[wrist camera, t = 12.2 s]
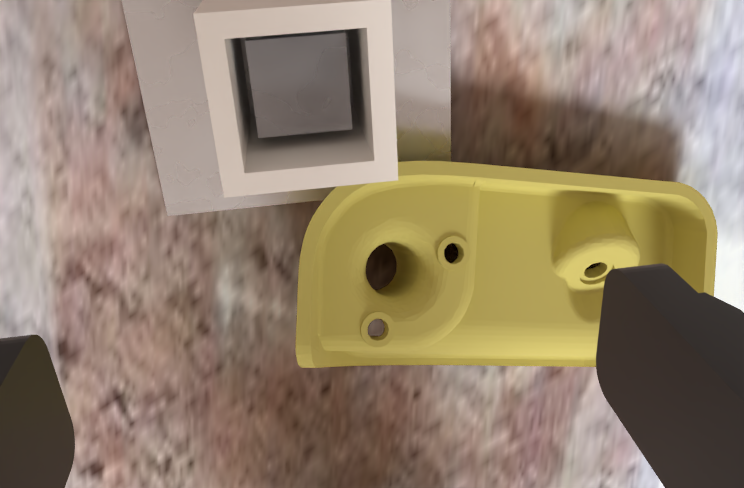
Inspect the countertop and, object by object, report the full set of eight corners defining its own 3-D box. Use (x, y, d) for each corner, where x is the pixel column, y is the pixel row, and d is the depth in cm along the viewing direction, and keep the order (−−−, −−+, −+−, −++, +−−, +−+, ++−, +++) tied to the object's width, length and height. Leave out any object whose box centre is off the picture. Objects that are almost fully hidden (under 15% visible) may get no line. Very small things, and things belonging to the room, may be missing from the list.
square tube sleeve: (364, -25, 27) (390, -2, 21) (372, 121, 30) (398, 180, 24) (211, -14, 27) (193, 13, 20) (234, 134, 29) (223, 197, 23)
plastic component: (720, 186, 32) (707, 396, 32) (625, 193, 39) (614, 366, 39) (305, 147, 27) (291, 396, 27) (282, 164, 34) (270, 362, 34)
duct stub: (443, -130, 27) (486, -137, 21) (446, 179, 33) (479, 233, 27) (104, -109, 26) (59, -111, 20) (170, 207, 32) (149, 269, 26)
